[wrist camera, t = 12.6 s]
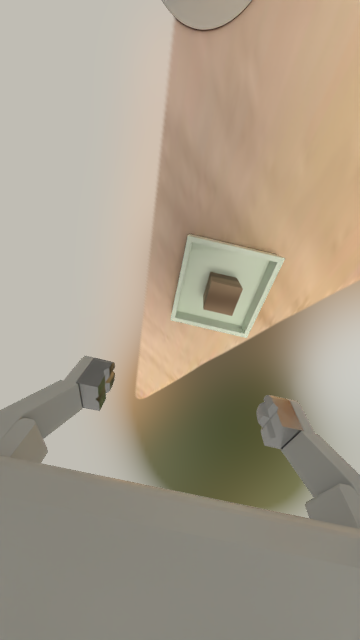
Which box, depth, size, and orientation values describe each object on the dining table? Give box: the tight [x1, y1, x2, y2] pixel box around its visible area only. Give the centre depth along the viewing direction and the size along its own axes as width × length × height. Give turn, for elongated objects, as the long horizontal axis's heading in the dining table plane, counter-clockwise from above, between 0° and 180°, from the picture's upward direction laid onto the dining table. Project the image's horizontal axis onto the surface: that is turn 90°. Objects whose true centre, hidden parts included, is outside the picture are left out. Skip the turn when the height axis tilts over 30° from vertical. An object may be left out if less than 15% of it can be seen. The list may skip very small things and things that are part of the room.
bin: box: [170, 234, 285, 338], centre depth 34 cm, size 16×16×4 cm
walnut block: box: [203, 272, 243, 316], centre depth 32 cm, size 5×5×6 cm
